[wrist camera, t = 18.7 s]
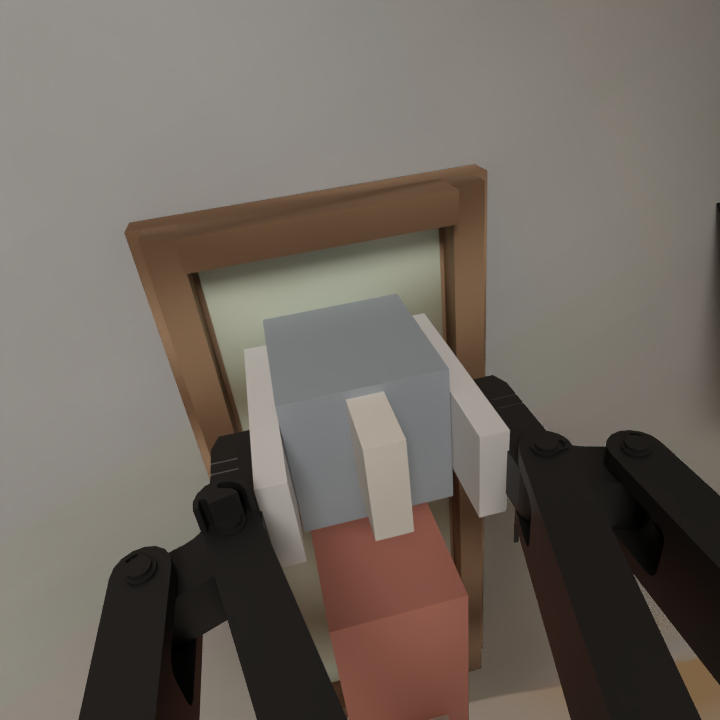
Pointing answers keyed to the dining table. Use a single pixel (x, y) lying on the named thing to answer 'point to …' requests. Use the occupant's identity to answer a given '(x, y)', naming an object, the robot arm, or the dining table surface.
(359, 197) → the picture frame
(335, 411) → the gray cube
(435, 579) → the pink pillar with cube
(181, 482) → the dining table surface
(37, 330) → the dining table surface
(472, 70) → the dining table surface
